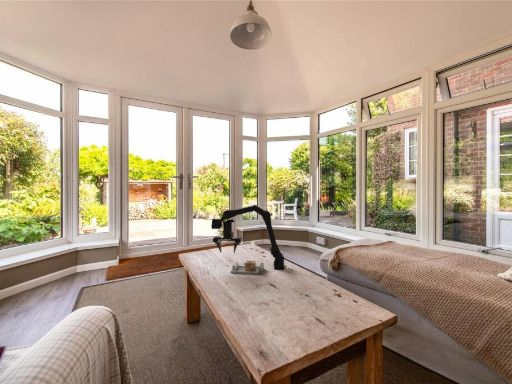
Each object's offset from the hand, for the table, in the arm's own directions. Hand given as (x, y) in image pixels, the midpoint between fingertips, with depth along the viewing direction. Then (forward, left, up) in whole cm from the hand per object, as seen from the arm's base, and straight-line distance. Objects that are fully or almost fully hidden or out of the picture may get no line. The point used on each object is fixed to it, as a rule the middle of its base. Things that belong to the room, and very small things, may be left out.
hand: (227, 252), depth 159 cm
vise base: (-13, 0, -12) cm, 18 cm away
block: (-15, 0, -11) cm, 19 cm away
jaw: (-5, 0, -11) cm, 12 cm away
